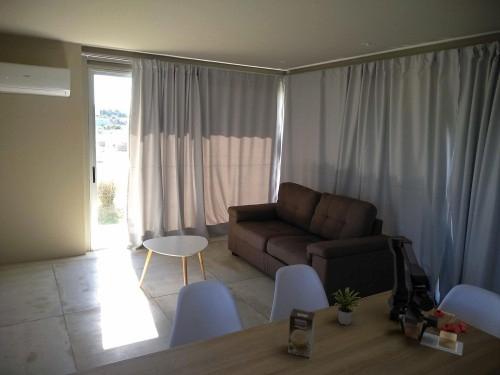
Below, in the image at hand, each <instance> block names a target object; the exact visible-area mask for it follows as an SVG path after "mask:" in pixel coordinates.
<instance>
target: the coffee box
mask: <svg viewBox="0 0 500 375" xmlns="http://www.w3.org/2000/svg"><path fill="white" fill-rule="evenodd" d="M315 318H316V312H312V311H308V310H303V309H297V308H292V310H291V312H290V315H289V328H288V330H289V331H288V348H287V353H288V352H290V353H294V354H298V355H302V356H301V357H303V356H307V357H310V356H311V357H312V354H313V349H314V333H315V332H314V331H315V320H316V319H315ZM290 353H289V354H290ZM311 353H312V354H311ZM294 354H293V355H294ZM298 355H297V356H298ZM307 357H306V358H307ZM311 357H310V358H311Z"/></svg>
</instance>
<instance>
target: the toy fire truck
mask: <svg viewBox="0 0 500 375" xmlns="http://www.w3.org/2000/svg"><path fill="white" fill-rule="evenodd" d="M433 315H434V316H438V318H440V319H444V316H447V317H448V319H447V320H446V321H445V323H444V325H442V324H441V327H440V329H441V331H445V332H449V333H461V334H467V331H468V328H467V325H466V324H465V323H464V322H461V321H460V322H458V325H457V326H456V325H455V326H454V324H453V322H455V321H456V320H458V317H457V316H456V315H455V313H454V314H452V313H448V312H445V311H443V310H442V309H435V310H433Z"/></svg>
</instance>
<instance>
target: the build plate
mask: <svg viewBox="0 0 500 375" xmlns="http://www.w3.org/2000/svg"><path fill="white" fill-rule="evenodd" d="M439 336H440V335H436V334H432V333H427V332H425V331H424V333H423V335H422V337H421V340H420V343H419V344H420V345H423V346H427V347H431V348H433V349H437V350H440V351H444V352H447V353H451V354H454V355H458V356H463V348H464V342H461V341H458V340H456V347H455V350H451V349H448V348H444V347H441V346H438V345H439Z"/></svg>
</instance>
